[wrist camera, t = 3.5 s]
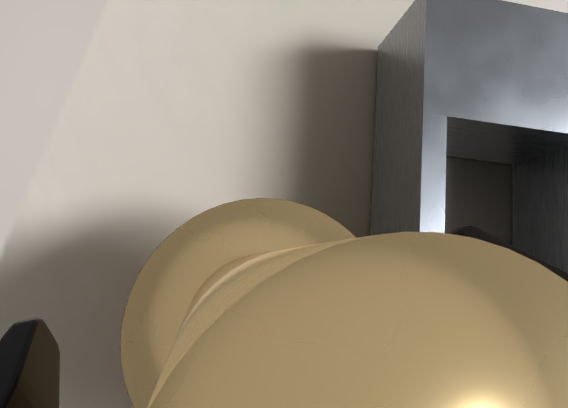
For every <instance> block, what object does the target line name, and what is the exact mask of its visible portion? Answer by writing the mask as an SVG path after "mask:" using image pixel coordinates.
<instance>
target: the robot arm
mask: <svg viewBox="0 0 568 408" xmlns="http://www.w3.org/2000/svg"><path fill="white" fill-rule="evenodd" d="M451 234H453V235H459V236H465V237H472V238H476V239H479V240H483V241H486V242H489V243H492V244H495V245H499V246H502V247H505V248H508V249H510V250H512V251H514V252H516V253H519V254H521V255H523V256H525V257H527V258H529V259H531V260H533V261H536V262H538V263H539V264H541V265H542V266H544V267H546V268H547V269H549V270H550V271H552V272H553V273H555V274H556V275H558V276H560V277H561V278H563V279H564V280H566V281H567V282H568V273H567V272H565V271H563V270H561V269H559V268H557V267H555V266H553V265H551V264H549V263H547V262H545V261H543V260H541V259H539V258H537V257H535V256H533V255H531V254H529V253H527V252H525V251H522V250H520V249H518V248H516V247H514V246H512V245H510V244H508V243H506V242H504V241H502V240H500V239H498V238H496V237H494V236H492V235H490V234H488V233H486V232H484V231H482V230H480V229H477V228H475V227H472V226H467V227H462V228H458V229H455V230H453V231H452V232H451ZM59 373H60V353H59V347H58V344H57V342H56V340H55V339H54V337H53V335H52V334H51V332H50V330H49V329H48V327H47V325H46V324H45V322H44V321H43V320H42V319H41V318H33V319H28V320H23V321H19V322H16V323H14V324H13V325H12V326H11V327H10V328H9V330H8V331H7V332H6V333H5V334H4V336H3V337H2V338H1V339H0V408H59Z"/></svg>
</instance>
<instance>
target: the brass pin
mask: <svg viewBox="0 0 568 408" xmlns="http://www.w3.org/2000/svg"><path fill="white" fill-rule="evenodd" d="M120 352H121V366H122V371H123V376H124V381H125V386H126V389H127V392H128V394H129V397H130V400H131V403H132V405H133V407H134V408H568V282H567V281H566V280H564V279H563V278H561V277H560V276H558V275H556V274H555V273H553V272H552V271H550V270H549V269H547V268H546V267H544V266H542V265H541V264H539V263H538V262H536V261H533V260H531V259H529V258H527V257H525V256H523V255H521V254H519V253H516V252H514V251H512V250H510V249H508V248H505V247H502V246H499V245H495V244H492V243H489V242H486V241H483V240H479V239H476V238H472V237H465V236H459V235H453V234H447V233H441V232H398V233H389V234H381V235H372V236H365V237H359V238H356V237H355V236H354V235H353V234H352V233H351V232H350V231H349V230H347V229H346V228H345V227H344V226H342V225H341V224H340V223H339V222H337V221H336V220H334V219H332V218H331V217H329V216H328V215H326V214H324V213H322V212H320V211H318V210H316V209H313V208H311V207H309V206H306V205H302V204H299V203H296V202H292V201H286V200H280V199H268V198H256V199H245V200H239V201H234V202H230V203H226V204H223V205H220V206H217V207H214V208H212V209H209V210H207V211H205V212H203V213H201V214H199V215H197V216H195V217H193V218H192V219H190V220H189V221H187V222H186V223H184V224H183V225H182V226H180V227H179V228H177V229H176V230H175V231H174V232H173V233H172V234H170V235H169V236H168V237H167V238H166V239H165V240H164V241H163V242H162V243H161V244H160V245H159V247H158V248H157V249H156V250H155V251H154V252H153V254H152V255H151V256H150V257H149V259H148V260H147V262H146V264H145V265H144V267H143V268H142V270H141V271H140V273H139V275H138V277H137V279H136V281H135V283H134V285H133V287H132V289H131V292H130V295H129V298H128V301H127V304H126V307H125V312H124V317H123V322H122V327H121V342H120Z"/></svg>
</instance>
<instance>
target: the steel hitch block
mask: <svg viewBox="0 0 568 408" xmlns="http://www.w3.org/2000/svg"><path fill="white" fill-rule="evenodd" d="M446 156H450V157H458V158H466V159H474V160H482V161H490V162H498V163H506V164H512V182H513V246H514V247H516V248H518V249H520V250H522V251H525V252H527V253H529V254H531V255H533V256H535V257H537V258H539V259H541V260H543V261H545V262H547V263H549V264H551V265H553V266H555V267H557V268H559V269H561V270H563V271H565V272H567V273H568V13H563V12H558V11H553V10H548V9H543V8H538V7H532V6H527V5H522V4H517V3H512V2H507V1H502V0H415V1H414V2H413V4H412V5H411V6H410V7H409V9H408V10H407V11H406V12H405V14H404V15H403V16H402V18H401V19H400V20H399V21H398V23H397V24H396V25H395V26H394V28H393V29H392V30H391V31H390V33H389V34H388V35H387V36H386V38H385V39H384V40H383V41H382V43H381V44H380V45H379V46H378V67H377V88H376V110H375V132H374V154H373V176H372V198H371V220H370V236H372V235H381V234H389V233H398V232H441V233H445V191H446Z"/></svg>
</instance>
